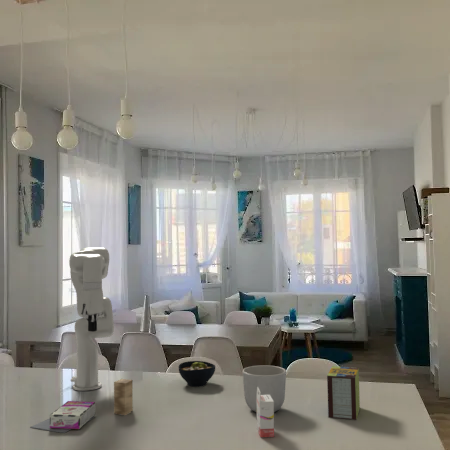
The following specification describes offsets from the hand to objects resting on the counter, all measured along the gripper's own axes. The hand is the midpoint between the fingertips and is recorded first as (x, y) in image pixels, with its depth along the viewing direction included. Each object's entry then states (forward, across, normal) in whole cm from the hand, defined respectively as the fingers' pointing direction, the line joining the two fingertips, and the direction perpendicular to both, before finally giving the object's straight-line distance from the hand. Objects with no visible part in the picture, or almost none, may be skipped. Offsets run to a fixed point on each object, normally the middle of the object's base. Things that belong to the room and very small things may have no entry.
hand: (92, 330), depth 207 cm
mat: (+29, +22, +4) cm, 36 cm away
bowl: (+31, -42, +26) cm, 58 cm away
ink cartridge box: (+28, +4, +76) cm, 81 cm away
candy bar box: (+27, +12, +5) cm, 30 cm away
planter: (+29, -19, +68) cm, 76 cm away
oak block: (+29, +4, +18) cm, 35 cm away
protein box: (+28, -27, +96) cm, 104 cm away
